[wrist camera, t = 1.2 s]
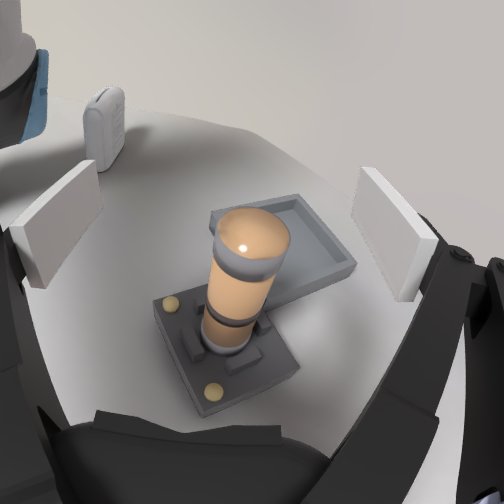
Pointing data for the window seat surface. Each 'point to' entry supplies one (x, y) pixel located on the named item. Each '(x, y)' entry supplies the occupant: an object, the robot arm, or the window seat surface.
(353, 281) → the window seat surface
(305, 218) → the parts tray
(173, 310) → the fuse holder
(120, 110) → the grey rounded slab
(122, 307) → the window seat surface
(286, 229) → the fuse
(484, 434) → the robot arm
